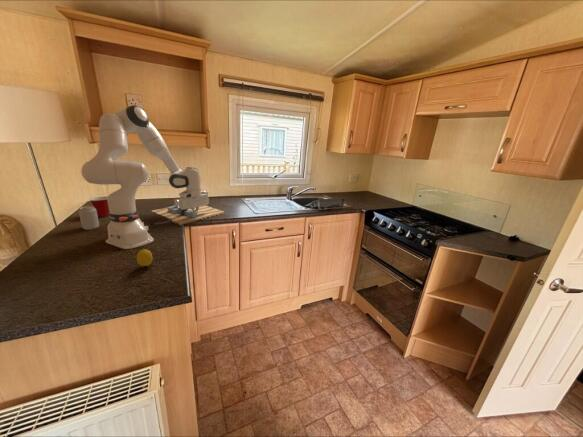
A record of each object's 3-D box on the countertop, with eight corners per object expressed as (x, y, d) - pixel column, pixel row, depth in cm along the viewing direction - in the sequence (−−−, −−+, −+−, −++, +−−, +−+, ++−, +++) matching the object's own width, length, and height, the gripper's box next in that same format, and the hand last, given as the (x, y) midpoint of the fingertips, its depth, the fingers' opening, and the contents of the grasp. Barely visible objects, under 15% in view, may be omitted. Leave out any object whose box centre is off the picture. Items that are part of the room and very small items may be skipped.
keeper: (190, 213, 163) (190, 206, 162) (181, 215, 158) (181, 208, 157) (187, 212, 166) (186, 205, 164) (178, 214, 160) (177, 207, 159)
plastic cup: (104, 212, 159) (101, 194, 155) (118, 214, 157) (115, 196, 153) (88, 217, 149) (84, 198, 145) (102, 219, 147) (99, 200, 143)
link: (167, 210, 166) (167, 207, 165) (180, 208, 173) (179, 204, 172) (189, 218, 153) (188, 215, 152) (201, 215, 160) (201, 212, 159)
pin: (180, 211, 168) (179, 199, 165) (176, 211, 165) (175, 200, 163) (178, 210, 169) (177, 199, 167) (174, 211, 167) (173, 199, 164)
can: (79, 228, 132) (74, 207, 128) (93, 224, 139) (89, 204, 135) (88, 231, 130) (83, 209, 126) (102, 227, 136) (98, 206, 133)
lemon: (137, 271, 97) (134, 253, 94) (139, 264, 102) (136, 247, 99) (152, 268, 99) (150, 251, 96) (154, 262, 104) (152, 245, 101)
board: (224, 213, 173) (224, 211, 173) (180, 225, 147) (179, 222, 146) (195, 204, 191) (195, 202, 191) (151, 212, 164) (151, 210, 164)
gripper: (204, 189, 166) (205, 209, 170) (176, 194, 150) (178, 215, 154) (210, 191, 163) (211, 211, 167) (182, 196, 147) (184, 217, 151)
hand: (195, 213), depth 160 cm, fingers closed
